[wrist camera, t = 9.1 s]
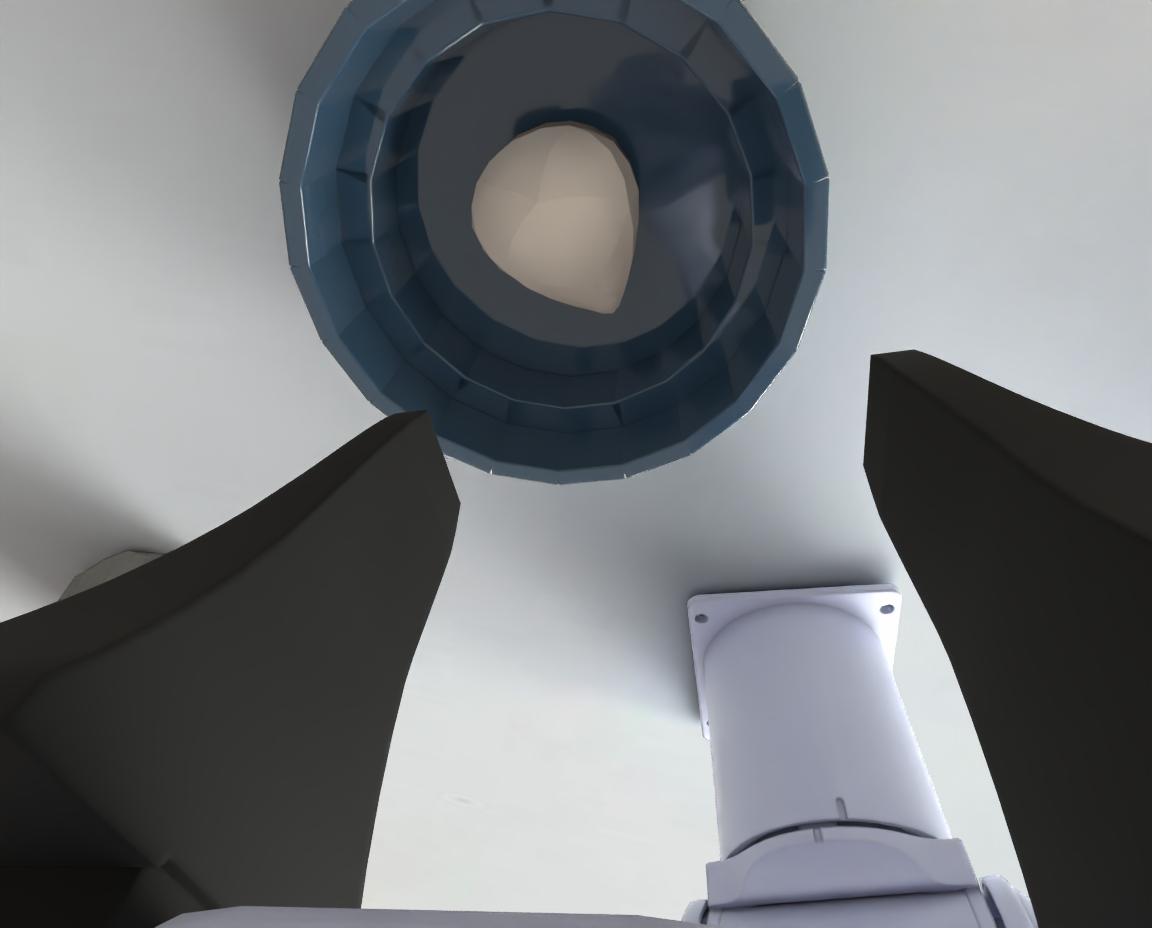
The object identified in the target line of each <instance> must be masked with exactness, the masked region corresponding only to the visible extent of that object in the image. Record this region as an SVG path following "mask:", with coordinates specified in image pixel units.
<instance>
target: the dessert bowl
mask: <svg viewBox="0 0 1152 928" xmlns="http://www.w3.org/2000/svg"><path fill="white" fill-rule="evenodd" d="M562 121H574V122H578V123H582V124H586V125H590V126H593V127H595V128H597V129H599V130H601V131H603V132H604V133H606V134H608V135H610V136H612V137H614V138H615V140H616V141H617V143H618V144H619V146H620V147H621V149H622V150H623V152H624V153H625V155H626V156H627V157H628V159H629V160H630V162H631V165H632V168H633V172H634V175H635V178H636V181H637V184H638V187H639V220H638V229H637V237H636V244H635V252H634V256H633V261H632V265H631V269H630V273H629V277H628V281H627V284H626V287H625V291H624V294H623V297H622V299H621V302H620V305H619V307H618V308H617V309H616V310H615V312H614V313H610V314H602V313H599V312H595V311H591V310H587V309H583V308H579V307H575V306H572V305H569V304H565V303H562V302H559V301H556V300H553V299H550V298H548V297H546V296H544V295H542V294H540V293H537V292H535V291H533V290H531V289H529V288H527V287H525V286H524V285H523V284H521V283H520V282H519V281H517V280H516V279H514V278H513V277H512V276H510V275H508V274H507V273H505V272H503V271H502V270H500V269H499V267H498V266H497V265H496V264H495V263H494V262H493V261H492V259H491V258H490V257H489V256H488V255H487V254H486V253H485V251H484V250H483V248H482V246H481V244H480V242H479V240H478V238H477V236H476V234H475V232H474V230H473V228H472V208H471V206H472V201H473V197H474V192H475V188H476V183H477V182H478V180H479V178H480V177H481V175H482V173H483V171H484V170H485V168H486V166H487V165H488V163H489V161H490V160H492V159H493V158H494V157H495V156H496V155H497V154H498V153H499V152H500V151H501V150H502V149H503V148H504V147H505V146H506V145H508V144H509V143H510V142H511V141H512V140H513V139H514V138H515V137H516V136H517V135H519V134H521V133H524V132H526V131H528V130H531V129H533V128H535V127H538V126H540V125H542V124H545V123H551V122H562ZM828 175H829V174H828V171H827V167H826V164H825V161H824V157H823V154H822V151H821V148H820V144H819V141H818V138H817V134H816V131H815V128H814V125H813V121H812V118H811V115H810V111H809V108H808V105H807V102H806V98H805V95H804V92H803V88H802V85H801V83H800V82H799V80H798V77H797V76H796V74H795V73H794V72H793V70H792V69H791V68H790V66H789V65H788V64H787V62H786V61H785V60H784V58H783V57H782V56H781V54H780V53H779V52H778V50H777V49H776V48H775V46H774V45H773V44H772V42H771V41H770V40H769V38H768V37H767V36H766V34H765V33H764V32H763V30H762V29H761V28H760V26H759V25H758V24H757V22H756V21H755V20H754V18H753V17H752V16H751V14H750V13H749V12H748V10H747V9H746V8H745V6H744V5H743V4H742V2H741V1H740V0H353V1H351V2H350V3H349V4H348V7H346V8H344V10H343V12H342V13H341V15H340V17H339V18H338V20H337V22H336V24H335V25H334V27H333V29H332V30H331V32H330V34H329V35H328V37H327V39H326V40H325V42H324V44H323V45H322V47H321V49H320V50H319V52H318V54H317V56H316V57H315V59H314V61H313V62H312V64H311V66H310V67H309V69H308V71H307V72H306V74H305V76H304V77H303V79H302V81H301V82H300V84H299V86H298V90H297V91H296V94H295V99H294V104H293V109H292V115H291V120H290V125H289V130H288V136H287V141H286V146H285V151H284V156H283V162H282V167H281V172H280V177H279V179H280V180H281V181H280V183H279V184H280V193H281V201H282V209H283V217H284V225H285V234H286V242H287V250H288V258H289V265H290V266H291V267H290V268H291V271H292V274H293V276H294V278H295V281H296V283H297V285H298V288H299V290H300V292H301V295H302V297H303V299H304V302H305V304H306V306H307V309H308V311H309V313H310V316H311V318H312V320H313V323H314V325H315V327H316V330H317V332H318V334H319V337H320V339H321V340H322V341H323V344H324V345H325V347H326V348H327V349H328V351H329V352H330V353H331V354H332V356H333V357H334V358H335V359H336V361H337V362H338V363H339V365H340V366H341V367H342V368H343V370H344V371H345V372H346V373H347V375H348V376H349V377H350V379H351V380H352V381H353V382H354V384H355V385H356V386H357V387H358V389H359V390H360V391H361V393H362V394H363V395H364V396H365V398H366V399H367V400H368V401H370V403H371V404H372V405H374V406H375V407H376V408H377V409H379V410H380V411H381V412H383V413H384V414H385V415H387V416H390V415H392V414H395V413H403V412H411V411H419V410H427V411H428V414H429V416H430V419H431V422H432V425H433V428H434V430H435V433H436V436H437V439H438V442H439V444H440V447H441V450H442V453H443V454H446V455H448V456H450V457H453V458H455V459H457V460H460V461H462V462H464V463H466V464H469V465H471V466H473V467H476V468H478V469H480V470H483V471H485V472H487V473H492V474H493V475H500V476H506V477H512V478H518V479H524V480H530V481H536V482H543V483H549V484H555V485H558V483H559V485H564V484H575V483H586V482H597V481H608V480H618V479H625V478H630V477H632V476H635V475H638V474H640V473H643V472H646V471H649V470H651V469H654V468H657V467H659V466H662V465H665V464H667V463H670V462H673V461H675V460H678V459H681V458H684V457H686V456H689V455H690V454H691V453H694V452H696V451H697V450H698V449H700V448H701V447H702V446H704V445H705V444H707V443H708V442H709V441H711V440H712V439H713V438H715V437H716V436H718V435H719V434H720V433H722V432H723V431H724V430H726V429H727V428H728V427H730V426H731V425H733V424H734V423H735V422H737V421H738V420H739V419H741V418H742V417H743V416H745V415H746V414H748V413H749V411H751V410H752V409H753V407H754V406H755V405H756V403H757V402H758V401H759V399H760V398H761V397H762V396H763V394H764V393H765V392H766V390H767V389H768V388H769V386H770V385H771V384H772V382H773V381H774V380H775V378H776V377H777V376H778V375H779V373H780V372H781V371H782V369H783V368H784V367H785V365H786V364H787V363H788V361H789V360H790V359H791V357H792V356H793V355H794V353H795V352H796V349H797V348H798V347H799V344H800V341H801V338H802V336H803V333H804V330H805V327H806V324H807V322H808V319H809V316H810V313H811V311H812V308H813V305H814V302H815V300H816V297H817V294H818V291H819V289H820V286H821V283H822V280H823V278H824V275H825V269H826V265H827V236H828V206H829V178H828Z"/></svg>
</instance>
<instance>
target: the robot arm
mask: <svg viewBox="0 0 1152 928" xmlns="http://www.w3.org/2000/svg"><path fill="white" fill-rule="evenodd" d="M863 466H864V469H865V472H866V476H867V479H868V482H869V485H870V489H871V492H872V495H873V498H874V501H875V504H876V507H877V510H878V513H879V516H880V518H881V520H882V522H883V524H884V526H885V529H886V531H887V533H888V535H889V537H890V539H891V541H892V543H893V545H894V547H895V549H896V551H897V553H898V555H899V557H900V559H901V561H902V563H903V565H904V567H905V569H906V571H907V573H908V575H909V577H910V579H911V581H912V583H913V585H914V586H915V588H916V590H917V592H918V594H919V596H920V598H921V600H922V602H923V604H924V606H925V608H926V610H927V612H928V614H929V616H930V618H931V620H932V622H933V624H934V626H935V628H936V630H937V632H938V634H939V636H940V639H941V641H942V643H943V645H944V648H945V650H946V652H947V654H948V657H949V659H950V661H951V664H952V667H953V669H954V672H955V675H956V678H957V680H958V683H959V686H960V689H961V691H962V694H963V697H964V699H965V702H966V705H967V708H968V710H969V713H970V716H971V718H972V721H973V724H974V727H975V730H976V733H977V736H978V739H979V742H980V744H981V747H982V750H983V753H984V756H985V759H986V762H987V765H988V768H989V771H990V774H991V777H992V779H993V782H994V785H995V788H996V791H997V794H998V798H999V801H1000V804H1001V807H1002V810H1003V813H1004V816H1005V820H1006V823H1007V826H1008V829H1009V832H1010V835H1011V839H1012V842H1013V845H1014V848H1015V851H1016V854H1017V857H1018V861H1019V864H1020V867H1021V870H1022V873H1023V877H1024V880H1025V883H1026V887H1027V890H1028V894H1029V897H1030V898H1028V897H1027V896H1026V895H1024V894H1023V893H1021V892H1020V891H1019V890H1017V889H1016V888H1014V887H1012V886H1011V885H1010V883H1009V882H1008V881H1007V880H1006V879H1005V878H1003V877H1002V876H1000V875H993V876H988V877H983V878H979V880H980V886H979V884H978V881H977V878H976V876H975V873H974V870H973V868H972V865H971V862H970V860H969V857H968V855H967V852H966V849H965V847H964V844H963V841H962V840H960V839H958V838H952V835H951V832H950V830H949V827H948V824H947V821H946V819H945V816H944V813H943V810H942V808H941V805H940V802H939V800H938V797H937V794H936V791H935V789H934V786H933V783H932V780H931V778H930V775H929V772H928V770H927V767H926V764H925V761H924V759H923V756H922V753H921V750H920V748H919V745H918V742H917V740H916V737H915V734H914V731H913V729H912V726H911V723H910V720H909V718H908V715H907V712H906V710H905V707H904V704H903V701H902V699H901V696H900V693H899V690H898V688H897V685H896V682H895V680H894V677H893V674H892V666H893V658H894V651H895V644H896V636H897V629H898V622H899V615H900V607H901V600H902V596H901V593H900V591H899V588H898V587H897V586H895V585H893V584H871V585H855V586H838V587H822V588H805V589H788V590H772V591H755V592H738V593H722V594H705V595H696V596H693V597H691V598H690V599H689V600H688V603H687V609H688V618H689V626H690V634H691V642H692V651H693V659H694V667H695V675H696V683H697V692H698V700H699V708H700V716H701V725H702V733H703V737H704V738H705V739H706V740H708V741H710V744H711V755H712V767H713V779H714V791H715V802H716V814H717V826H718V838H719V849H720V861H717V862H710V863H707V864H706V876H707V892H708V900H703V899H697V900H695V901H693V902H690V904H689V905H688V907H687V908H686V910H685V912H684V915H683V918H682V920H681V921H676V920H668V919H661V918H654V917H646V916H639V915H609V914H565V913H522V912H479V911H436V910H393V909H361V904H362V897H363V890H364V883H365V876H366V869H367V863H368V857H369V852H370V846H371V840H372V835H373V829H374V823H375V818H376V812H377V806H378V801H379V795H380V791H381V786H382V781H383V776H384V772H385V767H386V762H387V757H388V753H389V748H390V743H391V738H392V734H393V730H394V726H395V722H396V718H397V714H398V709H399V705H400V701H401V697H402V693H403V689H404V685H405V681H406V678H407V675H408V672H409V669H410V665H411V662H412V659H413V656H414V654H415V651H416V648H417V645H418V643H419V640H420V637H421V634H422V632H423V629H424V626H425V624H426V621H427V618H428V615H429V613H430V610H431V607H432V604H433V602H434V599H435V596H436V594H437V591H438V588H439V585H440V582H441V580H442V577H443V574H444V571H445V568H446V566H447V563H448V560H449V557H450V554H451V550H452V546H453V541H454V537H455V532H456V527H457V521H458V515H459V510H460V504H461V503H460V500H459V498H458V495H457V492H456V489H455V486H454V484H453V481H452V478H451V475H450V472H449V470H448V467H447V464H446V461H445V458H444V456H443V453H442V450H441V447H440V444H439V442H438V439H437V436H436V433H435V430H434V428H433V425H432V422H431V419H430V416H429V414H428V411H427V410H419V411H411V412H403V413H395V414H392V415H390V416H388V417H386V418H384V419H383V420H381V421H379V422H378V423H376V424H374V425H373V426H371V427H370V428H368V429H367V430H365V431H363V432H362V433H361V434H359V435H358V436H356V437H355V438H353V439H352V440H350V441H349V442H347V443H346V444H345V445H343V446H342V447H340V448H339V449H337V450H336V451H335V452H333V453H332V454H330V455H329V456H327V457H326V458H325V459H323V460H322V461H320V462H319V463H317V464H316V465H315V466H313V467H312V468H310V469H309V470H307V471H306V472H305V473H303V474H302V475H300V476H299V477H297V478H295V479H294V480H292V481H291V482H289V483H288V484H286V485H285V486H283V487H282V488H280V489H279V490H277V491H276V492H274V493H273V494H271V495H269V496H268V497H266V498H265V499H263V500H262V501H260V502H259V503H257V504H256V505H254V506H253V507H251V508H249V509H248V510H246V511H244V512H243V513H241V514H239V515H238V516H236V517H234V518H233V519H231V520H229V521H227V522H226V523H224V524H222V525H220V526H219V527H217V528H215V529H213V530H211V531H209V532H208V533H206V534H204V535H202V536H200V537H198V538H197V539H195V540H193V541H191V542H189V543H187V544H185V545H183V546H181V547H179V548H177V549H175V550H173V551H171V552H169V553H167V554H165V555H163V556H160V557H158V558H156V559H154V560H152V561H150V562H148V563H146V564H143V565H141V566H139V567H137V568H135V569H133V570H131V571H129V572H126V573H124V574H122V575H120V576H118V577H116V578H114V579H111V580H109V581H107V582H104V583H102V584H100V585H97V586H95V587H92V588H90V589H87V590H85V591H83V592H80V593H78V594H75V595H73V596H70V597H68V598H65V599H63V600H60V601H58V602H55V603H52V604H50V605H47V606H45V607H42V608H39V609H37V610H34V611H32V612H29V613H26V614H23V615H21V616H18V617H15V618H12V619H10V620H7V621H4V622H1V623H0V928H1152V443H1149V442H1145V441H1142V440H1139V439H1135V438H1132V437H1129V436H1126V435H1123V434H1120V433H1117V432H1114V431H1111V430H1108V429H1106V428H1103V427H1100V426H1097V425H1095V424H1092V423H1089V422H1087V421H1084V420H1081V419H1079V418H1076V417H1073V416H1071V415H1068V414H1066V413H1063V412H1060V411H1058V410H1055V409H1053V408H1050V407H1048V406H1045V405H1043V404H1040V403H1038V402H1036V401H1033V400H1031V399H1028V398H1026V397H1024V396H1021V395H1019V394H1017V393H1014V392H1012V391H1010V390H1008V389H1005V388H1003V387H1001V386H999V385H996V384H994V383H992V382H990V381H988V380H985V379H983V378H981V377H979V376H976V375H974V374H972V373H970V372H968V371H966V370H963V369H961V368H959V367H957V366H955V365H952V364H950V363H948V362H945V361H943V360H941V359H939V358H936V357H934V356H931V355H929V354H926V353H923V352H920V351H917V350H907V351H899V352H891V353H882V354H874V355H871V361H870V375H869V390H868V405H867V419H866V434H865V448H864V463H863ZM885 604H888V605H886V606H883V605H885ZM700 614H703V616H698V615H700ZM980 887H981V890H980Z"/></svg>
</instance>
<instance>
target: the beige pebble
mask: <svg viewBox="0 0 1152 928" xmlns="http://www.w3.org/2000/svg"><path fill="white" fill-rule="evenodd" d="M471 208H472V228H473V230H474V232H475V234H476V236H477V238H478V240H479V242H480V244H481V246H482V248H483V250H484V251H485V253H486V254H487V255H488V256H489V257H490V258H491V259H492V261H493V262H494V263H495V264H496V265H497V266H498V267H499V269H500V270H502V271H503V272H505V273H507V274H508V275H510V276H512V277H513V278H514V279H516V280H517V281H519V282H520V283H521V284H523V285H524V286H525V287H527V288H529V289H531V290H533V291H535V292H537V293H540V294H542V295H544V296H546V297H548V298H550V299H553V300H556V301H559V302H562V303H565V304H569V305H572V306H575V307H579V308H583V309H587V310H591V311H595V312H599V313H602V314H610V313H614V312H615V310H616V309H617V308H618V307H619V305H620V302H621V299H622V297H623V294H624V291H625V287H626V284H627V281H628V277H629V273H630V269H631V265H632V261H633V256H634V252H635V244H636V237H637V229H638V220H639V187H638V184H637V181H636V178H635V175H634V172H633V168H632V165H631V162H630V160H629V159H628V157H627V156H626V155H625V153H624V152H623V150H622V149H621V147H620V146H619V144H618V143H617V141H616V140H615V138H614V137H612V136H610V135H608V134H606V133H604V132H603V131H601V130H599V129H597V128H595V127H593V126H590V125H586V124H582V123H578V122H574V121H562V122H551V123H545V124H542V125H540V126H538V127H535V128H533V129H531V130H528V131H526V132H524V133H521V134H519V135H517V136H516V137H515V138H514V139H513V140H512V141H511V142H510V143H509V144H508V145H506V146H505V147H504V148H503V149H502V150H501V151H500V152H499V153H498V154H497V155H496V156H495V157H494V158H493V159H492V160H490V161H489V163H488V165H487V166H486V168H485V170H484V171H483V173H482V175H481V177H480V178H479V180H478V182H477V183H476V188H475V192H474V197H473V201H472V206H471Z"/></svg>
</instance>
